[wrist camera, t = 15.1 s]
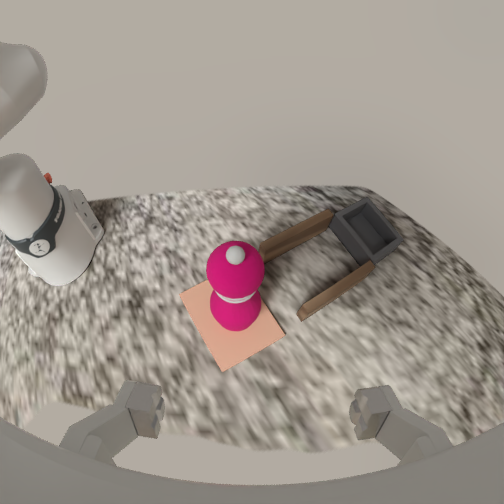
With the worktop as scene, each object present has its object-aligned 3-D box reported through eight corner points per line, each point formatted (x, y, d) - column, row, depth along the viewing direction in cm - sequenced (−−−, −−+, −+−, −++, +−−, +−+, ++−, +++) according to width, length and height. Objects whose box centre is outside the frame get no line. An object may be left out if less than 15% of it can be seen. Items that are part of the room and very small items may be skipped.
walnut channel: (257, 257, 49) (260, 243, 44) (321, 224, 53) (328, 208, 48) (301, 321, 44) (308, 313, 39) (363, 279, 48) (375, 267, 43)
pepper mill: (226, 343, 41) (218, 302, 24) (204, 303, 44) (183, 237, 26) (267, 320, 43) (290, 264, 26) (244, 282, 46) (250, 206, 28)
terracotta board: (179, 295, 45) (178, 294, 44) (238, 264, 48) (238, 263, 47) (222, 372, 40) (222, 371, 39) (284, 335, 43) (285, 335, 42)
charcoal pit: (328, 226, 53) (334, 213, 49) (360, 208, 55) (367, 196, 52) (364, 272, 48) (373, 262, 45) (394, 250, 51) (403, 239, 47)
